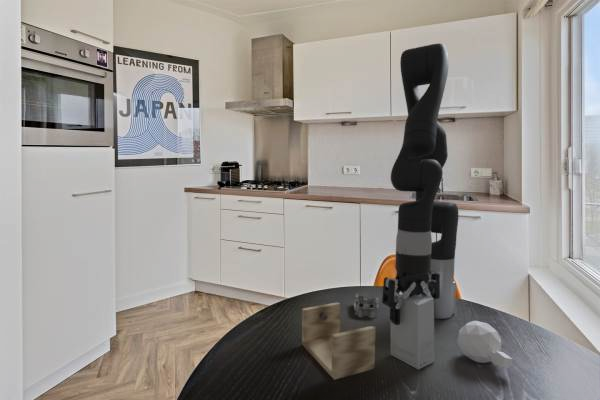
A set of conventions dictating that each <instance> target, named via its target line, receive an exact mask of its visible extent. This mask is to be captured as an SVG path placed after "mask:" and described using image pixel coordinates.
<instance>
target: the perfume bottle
mask: <svg viewBox="0 0 600 400" xmlns="http://www.w3.org/2000/svg"><path fill="white" fill-rule="evenodd" d="M457 344H458V346H459V348H460V349H461V350H460V351H461V352H462V353H463V355H464V356H465V357H467V358H469V359H470V360H471V361H474V362H476V363H481V364H485V363H486V364H487V363H491V362H493V363H494V364H496V365H497V366H498V367H499V368H500V369H509V368H510V365H511V363H512V361H513V358H512V357H510V356H509V355H508V354H506V353H505V352H503V351H502V339H501V337H500V334H499V333H498V331H497V330H496V329H495V328H494V327H493V326H491V325H490V324H489V323H488V322H487V323H486V322H482V321H479V320H472V321H469V322H467V323H465V325H463V326H462V327H460V329H459V330H458V337H457Z"/></svg>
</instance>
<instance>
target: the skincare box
mask: <svg viewBox="0 0 600 400" xmlns="http://www.w3.org/2000/svg"><path fill="white" fill-rule="evenodd" d="M399 294H401V295H402V294H403V293H402V292H401V291H400V293H399ZM397 300H398V299H397ZM397 300H396V302H397ZM400 309H401V310H400V325H395V324H393V323H392V322H391V320H390V319H389V323H390V325H389V326H390V327H389V330H390V356H392V357H394V358H397V359H398V360H399V361H401V362H404V363H405V364H407V365H409V366H411V367H413V368H415V369H416V370H420V369H422V368H424V367H427V366H429V365H432V364H433V363H434V362H435V318H434V298H431V297H427V296H424V295H421V294H420V295H413V296H410V297H409V296H408V298H407V300H406V301H403V303H402V305H401V306H400Z"/></svg>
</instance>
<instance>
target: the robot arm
mask: <svg viewBox="0 0 600 400" xmlns="http://www.w3.org/2000/svg"><path fill="white" fill-rule="evenodd" d="M399 66H400V74H401V80H402V81H401V82H402V86H403V87H402V88H403V92H404V97H405V98H404V99H405V103H406V110H407V117H406V120H405V124H404V131H403V132H404V133H403V141H402V144H401V145H402V146H401V149H400V151H399V153H398V155H397V157H396V159H395V162H394V163H393V166H392V168H391V171H390V183H391V184H392V185H391V186H393V188H394V189H395V190H396V191H400V192H411V193H412V192H413V193H415V200H414V201H408V202H402V203H401V204H399V207H398V212H397V213H398V215H397V233H396V238H395V239H396V240H395V262H394V263H395V265H394V266H395V268H394V269H395V270H396V276H395V277H394V278H390V277H384V279H383V287H382V296H381V297H382V299H381V303H382V304H383V305H385V306H387V307H388V308H389V321H390V320H391V322H392V323H393V324H395V325H400V310H401V309H400V306H401V305H402V303H403V301H406V300H407V298H408V296H409V297H410V296H413V295H420V294H421V295H424V296H427V297H431V298H434V319H438V320H439V319H440V320H441V319H442V320H445V319H450V318H451V317H452V316H453V315H454V314H456V313H455V312H456V295H457V294H456V293H457V282H456V281H454V280H455V259H456V248H457V247H456V246H457V237H458V236H457V234H458V226H459V208H458V205H457V204H456V203H455V202H453V201H451V202H450V201H439V200H438V201H437V200H436V196H437V194H438V190H439V188H440V185H441V183H442V180H443V179H442V178H443V169H444V166H445V164H446V163H447V160H448V143H447V141H448V140H447V134H446V130H445V129H444V127H443V126H442V124H441V123H440V121H439V120H438V119H439V112H440V108H441V104H442V101H443V97H444V92H445V90H446V89H445V88H446V83H447V79H448V74H449V55H448V51H447V47H446V46H445V45H444V44H443V43H433V44H427V45H423V46H418V47H413V48H409V49H405V50H404V51H402V53H401V56H400V65H399ZM426 85H428V87H427V88H426V91H424V93H423V94H422V96H421V93H420V91H419V86H426ZM433 233H434V234H441V236H440V239H438V240H436V241H434V242H432V241H433V239H432V234H433ZM400 291H401V292H402V293H403V294H402V295H401V294H399V293H400ZM397 299H398V300H397ZM396 300H397V302H396Z"/></svg>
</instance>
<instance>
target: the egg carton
mask: <svg viewBox="0 0 600 400" xmlns="http://www.w3.org/2000/svg"><path fill="white" fill-rule="evenodd" d="M359 303H360V304H359ZM379 303H380V297H376V298H375V297H372V298H371V297H369V296H367V298H365V297H364V295H361V294H359V293H358V292H356V293H355V297H354V303H353V308H354V316H356V315H357V316H356V317H358V318H363V317H368V318H370V319H374V318H378V314H379V313H378V311H379V310H378V309H379V306H380V305H379ZM362 304H363V305H362ZM360 305H362V307H361V308H360ZM370 306H372V307H370Z"/></svg>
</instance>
